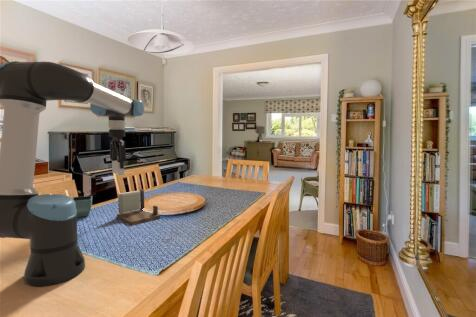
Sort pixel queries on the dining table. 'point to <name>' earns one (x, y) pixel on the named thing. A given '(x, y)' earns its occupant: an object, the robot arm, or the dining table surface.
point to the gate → (129, 201)
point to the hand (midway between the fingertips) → (118, 173)
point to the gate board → (139, 213)
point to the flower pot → (83, 205)
